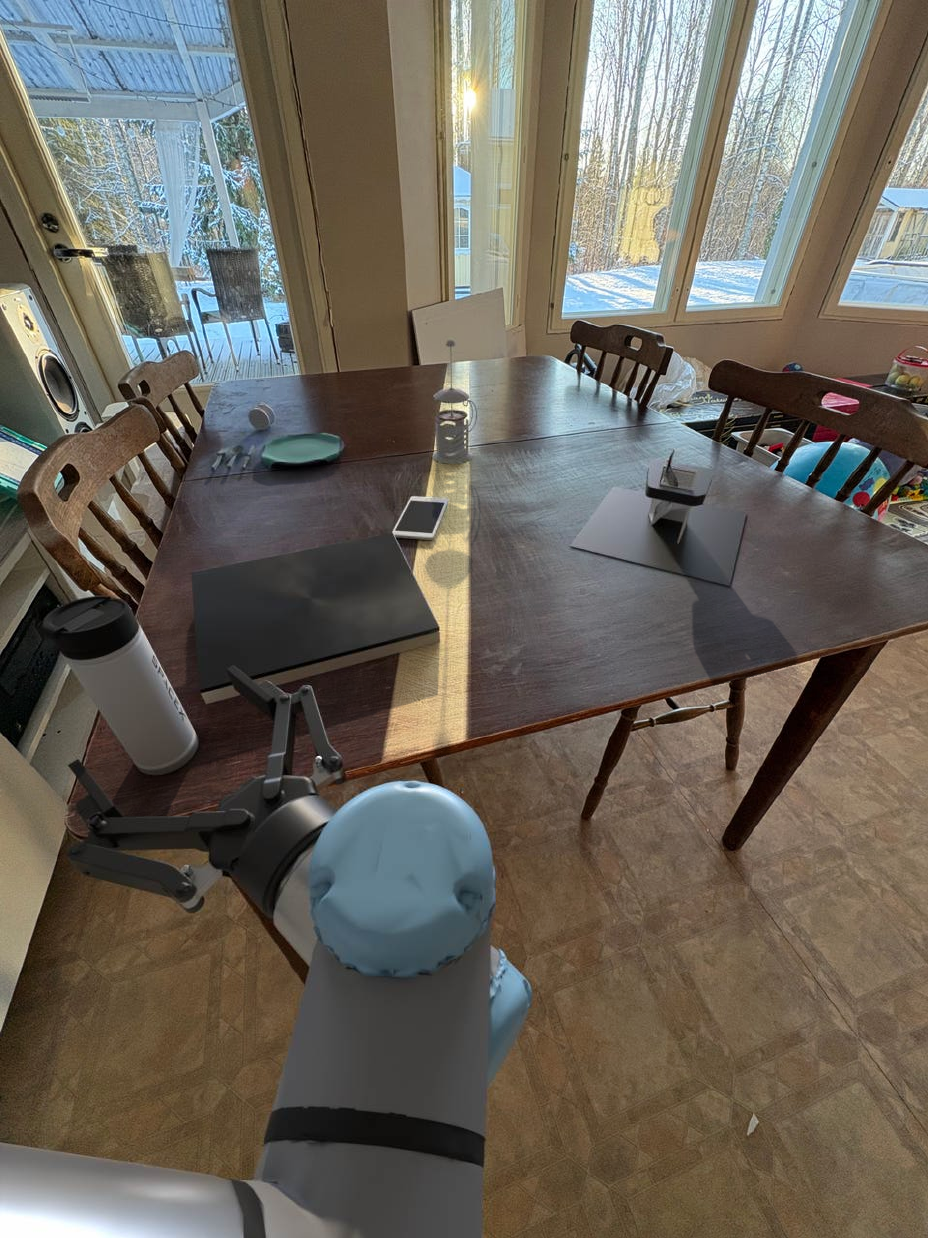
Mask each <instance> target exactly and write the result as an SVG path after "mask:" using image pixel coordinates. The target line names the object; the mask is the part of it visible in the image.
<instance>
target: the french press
mask: <svg viewBox="0 0 928 1238" xmlns="http://www.w3.org/2000/svg"><path fill="white" fill-rule="evenodd" d="M445 346H446V347H449V349H450V350H449V351H450V352H449V354H450V355H449V356H450V358H449V359H450V363H452V348H453V347H456V342H455V341H454V340H453V339H448V340H447V341H446V343H445ZM433 400H435V401H436V402H438V403H442V404H451V405H450V407H451V408H450V409H444V410H440V411H438V413H436V414H435V416H436V419H435V445H436V447H435V448H436V451H435V452H434V453H433V454H432V459H433V460H434V461H435V462H438V463H442V464H447V465H451V464H453V465H454V464H455V465H456V464H457V465H458V464H463V463H467V462H468V461H471V460H472V459H473V457H474V456H473V453H472V452H471V451H470V449H469V441H470V440H469V436H470V435H469V433H470V432H471V431H473V429H474V428H475V426H476V424H477V421H478V408H477V406H476V404H475V403H474V401H472V400H470V394H469V393H467V392H465V390H462V389H461V388H460V389H459V388H455V387H453V375H452V364H450V387H448V388H447V387H446V388H442V389H441V390H439V391H438V392H436V393H435V394H433ZM465 402H466V404H465ZM460 403H462V405H463V406H464V407H468V405H469V404H470V408H471V417H470V422H469V419H467V417H468V413H467V412H466V411H464V410H457V409H453V404H460ZM473 407H474V408H473ZM474 410H475V419H474V424H473V426H472V427H471V428H470V429H469V427H470V426H471V424H472V421H473V418H474ZM445 422H451V423H445ZM442 423H444V424H442ZM452 423H453V424H452ZM449 438H450V439H449Z"/></svg>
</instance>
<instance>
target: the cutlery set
mask: <svg viewBox="0 0 928 1238" xmlns="http://www.w3.org/2000/svg"><path fill="white" fill-rule="evenodd" d="M344 449H345V443H344V441H343V440H342V439H340V436H337V435H336V434H335V435H334V434H331V433H326V432H318V433H300V434H292V435H291V434H287V435H286V434H285V435H283V436H282V435H281V436H279V437H276V438H274V439H271V440H268V441H267V442H265V444H264V445H263V446H262V447H261V448H260V449H259V457H260V460H261V462H262V463H263V464H264V466H266V467H267V468H269V469H272V465H273V464H275V465H280V466H281V465H282V466H305V465H313V464H317V463H321V462H325V461H327V462H328V463H329V462H331V461H333V460H336V459H337V458H338V457H339V455H340V453H342V452H343V451H344ZM228 451H229V446H227V447H223V446H221V449H220V450H219V451H218V452H216V455H217V458H216V460H215V462H214V463H213V464H212V465H211V467H210V468H211V471H212V472H215V471H216V470H217V468H218V467H219V465H220V463H221V461H222V458H225V457H226V456H227V454H228ZM229 452H230V454H232V455H233V456H232V458H231V459H230V460H229V462H228V463H227V465H226V470H231V469H232V467H233V464H234V462H235V460H236V458H237V456H240V455H242V454H243V453H244V452H245V446H244V445H235V446H233V447H232V448H230V451H229ZM254 452H255V445H253V444H251V446H250V448H249V451H248V453H247V454H245V456H244V459H245V460H244V464H243V466H242V467H241V469H242V471H246V470H247V469H246V468H247V464H248V462H249V461H250V460H252V455H253V453H254Z"/></svg>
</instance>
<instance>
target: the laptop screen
mask: <svg viewBox="0 0 928 1238" xmlns="http://www.w3.org/2000/svg"><path fill="white" fill-rule="evenodd" d="M191 586H192V604H193V618H194V633H195V646H196V647H195V648H196V651H195V652H196V665H197V681H198V690H199V693H200V694H201V693H204V692H208V691H212V690H216V689H220V688H224V687H227V686H231V685H233V684H232V682H231V680H230V677H229V675H228V672H227V669H228V668H230V667H232V666H233V665H234V666H235V667H236V668H238V669H239V670H240V671H241V672H243V673H244V674H245V675H247V676H248V677H249V678H250V679H252V680H254V679H258V678H262V677H266V676H269V675H273V674H277V673H281V672H285V671H289V670H292V669H296V668H300V667H304V666H308V665H312V664H315V663H319V662H323V661H327V660H331V659H335V658H338V657H342V656H346V655H350V654H354V653H358V652H361V651H365V650H369V649H373V648H377V647H381V646H384V645H388V644H392V643H396V642H400V641H403V640H407V639H411V638H415V637H419V636H423V635H426V634H430V633H434V632H438V631H439V632H440V630H441V629H440V625H439V623H438V621H437V619H436V617H435V615H434V613H433V611H432V608H431V607H430V605H429V603H428V600H427V599H426V596H425V595H424V593H423V590H422V589H421V586H420V584H419V583H418V581H417V578H416V577H415V574H414V573H413V570H412V569H411V567H410V565H409V562H408V560H407V558H406V556H405V554H404V552H403V550H402V548H401V546H400V544H399V542H398V540H397V538H396V537H395V536H394V534H393V532H388V533H382V534H376V535H372V536H367V537H362V538H355V539H351V540H347V541H340V542H336V543H331V544H326V545H321V546H315V547H310V548H306V549H300V550H295V551H290V552H284V553H280V554H274V555H270V556H264V557H260V558H255V559H250V560H249V559H248V560H243V561H238V562H234V563H229V564H224V565H219V566H214V567H209V568H203V569H198V570H193V571H191Z"/></svg>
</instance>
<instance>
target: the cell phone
mask: <svg viewBox="0 0 928 1238" xmlns="http://www.w3.org/2000/svg"><path fill="white" fill-rule="evenodd" d="M448 504H449V498H447V497H433V496H431V497H430V496H417V495H412V496H410V498H409V499H408V501H407V503H406V505H405V507H404V508H403V511H402V512H401V514H400V516H399V518H398V520H397V522H396V524H395V526H394V528H393V529H392V532H393V534H394V536H395V538H396V539H397V538H398V539H411V540H422V541H423V540H426V541H433V540H435V536H436V534H437V531H438V529H439V527H440V524H441V521H442V518H443V517H444V513H445V511H446V509H447V506H448ZM392 532H391V533H392Z"/></svg>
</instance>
